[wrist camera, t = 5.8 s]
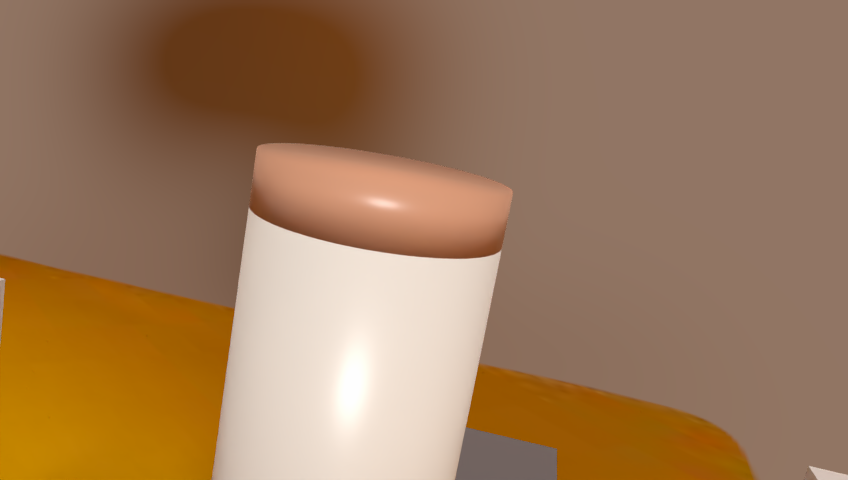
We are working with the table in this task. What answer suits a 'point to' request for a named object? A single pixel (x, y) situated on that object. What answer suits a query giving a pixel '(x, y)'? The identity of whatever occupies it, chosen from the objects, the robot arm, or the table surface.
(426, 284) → the fader knob
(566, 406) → the table surface
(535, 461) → the fader console
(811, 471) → the robot arm
